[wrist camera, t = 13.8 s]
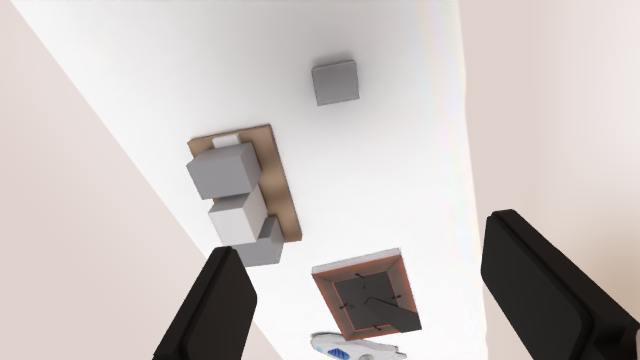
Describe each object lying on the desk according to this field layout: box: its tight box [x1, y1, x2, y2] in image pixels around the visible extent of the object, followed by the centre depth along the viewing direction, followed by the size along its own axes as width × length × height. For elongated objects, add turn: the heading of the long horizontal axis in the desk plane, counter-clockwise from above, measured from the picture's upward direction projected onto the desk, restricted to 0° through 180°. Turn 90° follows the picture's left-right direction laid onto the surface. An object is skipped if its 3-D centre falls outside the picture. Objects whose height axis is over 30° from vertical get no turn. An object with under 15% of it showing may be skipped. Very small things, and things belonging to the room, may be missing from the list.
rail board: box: [187, 125, 302, 243], centre depth 41 cm, size 20×12×2 cm, turn 11°
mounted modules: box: [186, 142, 284, 267], centre depth 37 cm, size 18×7×5 cm, turn 11°
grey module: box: [208, 183, 268, 246], centre depth 37 cm, size 6×5×7 cm
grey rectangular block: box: [312, 60, 359, 106], centre depth 32 cm, size 4×5×4 cm
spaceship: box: [310, 334, 407, 360], centre depth 59 cm, size 23×7×4 cm, turn 74°
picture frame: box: [311, 248, 422, 342], centre depth 52 cm, size 16×2×22 cm
